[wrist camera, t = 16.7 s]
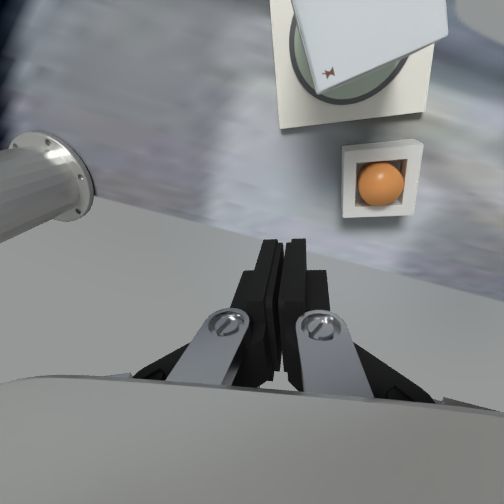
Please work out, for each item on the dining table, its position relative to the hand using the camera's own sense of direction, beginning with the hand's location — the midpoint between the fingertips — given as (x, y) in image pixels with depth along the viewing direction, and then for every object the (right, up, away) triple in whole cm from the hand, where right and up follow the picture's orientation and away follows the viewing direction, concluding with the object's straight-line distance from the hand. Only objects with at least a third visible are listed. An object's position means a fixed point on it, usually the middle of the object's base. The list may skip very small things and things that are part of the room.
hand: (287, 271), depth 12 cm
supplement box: (+7, +20, +14) cm, 26 cm away
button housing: (+12, +9, +20) cm, 25 cm away
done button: (+12, +9, +19) cm, 24 cm away
